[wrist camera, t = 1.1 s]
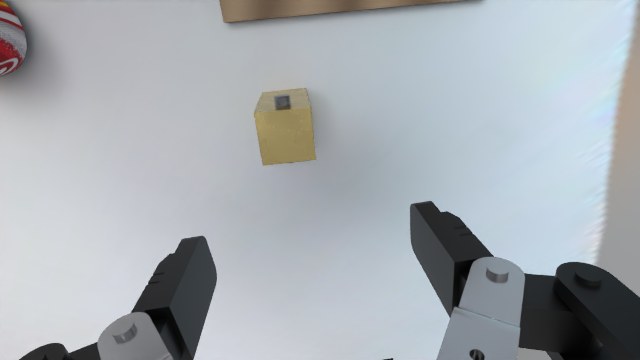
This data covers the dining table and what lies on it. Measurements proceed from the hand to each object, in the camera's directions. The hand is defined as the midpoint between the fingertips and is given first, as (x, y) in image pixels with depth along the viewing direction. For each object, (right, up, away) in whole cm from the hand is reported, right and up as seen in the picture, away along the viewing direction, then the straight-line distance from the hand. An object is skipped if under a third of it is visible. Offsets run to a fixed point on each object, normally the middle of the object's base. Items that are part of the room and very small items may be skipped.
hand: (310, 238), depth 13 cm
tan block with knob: (-3, +9, +18) cm, 20 cm away
